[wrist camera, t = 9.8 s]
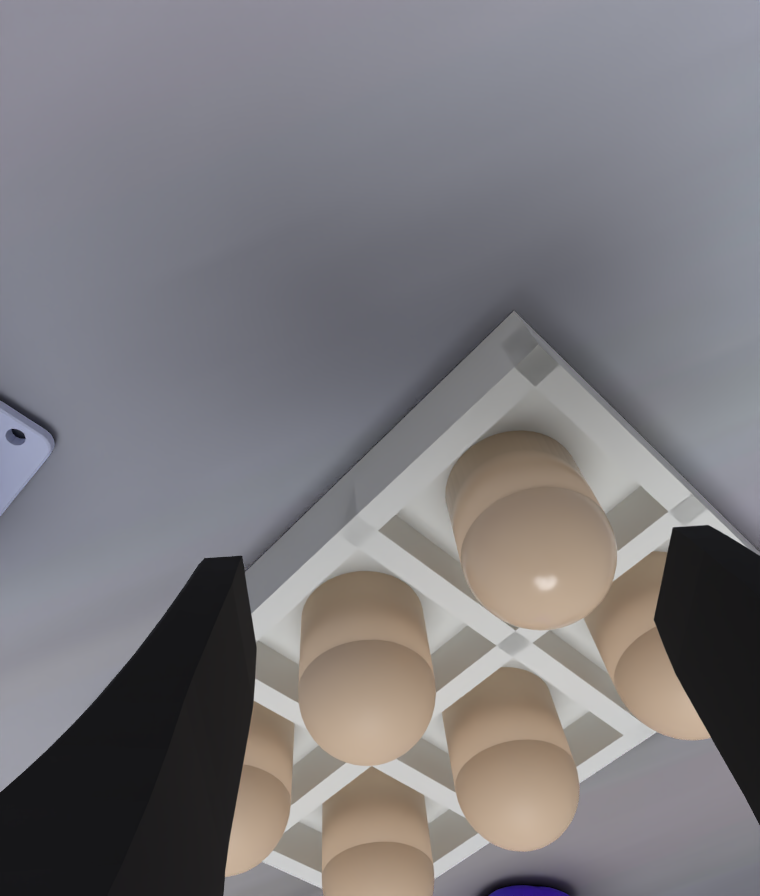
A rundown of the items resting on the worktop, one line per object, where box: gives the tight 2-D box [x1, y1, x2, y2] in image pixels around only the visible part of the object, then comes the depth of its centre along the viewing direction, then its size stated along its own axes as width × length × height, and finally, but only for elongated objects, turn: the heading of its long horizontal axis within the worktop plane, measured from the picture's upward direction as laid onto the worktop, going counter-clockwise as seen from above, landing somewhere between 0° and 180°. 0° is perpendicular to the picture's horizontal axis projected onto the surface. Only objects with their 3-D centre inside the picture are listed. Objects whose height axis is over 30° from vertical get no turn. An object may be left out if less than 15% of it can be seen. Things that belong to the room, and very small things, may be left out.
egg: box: [445, 431, 617, 630], centre depth 19 cm, size 4×4×5 cm
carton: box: [225, 311, 760, 896], centre depth 23 cm, size 14×21×6 cm
